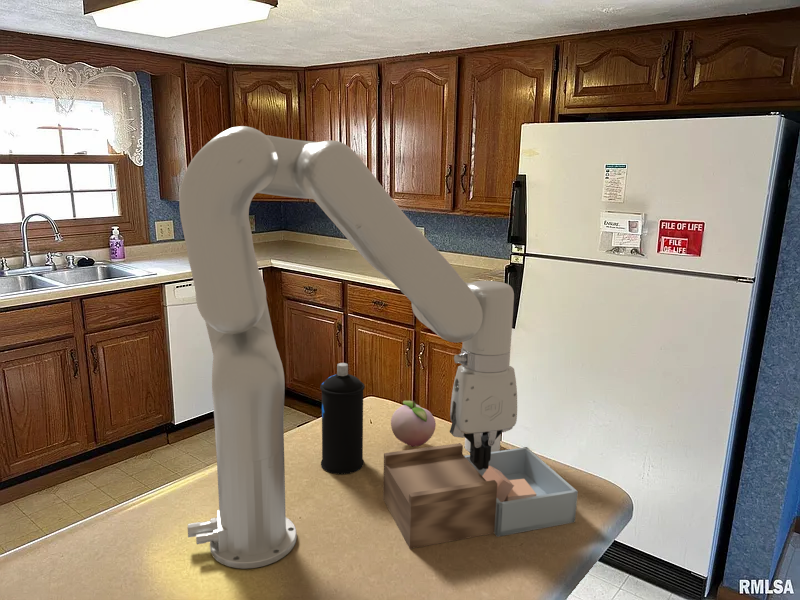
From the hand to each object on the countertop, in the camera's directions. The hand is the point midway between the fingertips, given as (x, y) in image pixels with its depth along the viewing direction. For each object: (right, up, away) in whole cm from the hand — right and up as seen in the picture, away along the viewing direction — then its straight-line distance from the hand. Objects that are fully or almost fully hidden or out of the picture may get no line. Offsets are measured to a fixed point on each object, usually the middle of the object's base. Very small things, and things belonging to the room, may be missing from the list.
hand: (479, 465), depth 97 cm
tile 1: (+1, -4, +1) cm, 4 cm away
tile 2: (+6, -4, +2) cm, 8 cm away
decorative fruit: (-11, -3, +23) cm, 26 cm away
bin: (+6, -7, +4) cm, 10 cm away
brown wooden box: (-7, -8, -1) cm, 11 cm away
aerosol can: (-24, -4, +16) cm, 29 cm away
